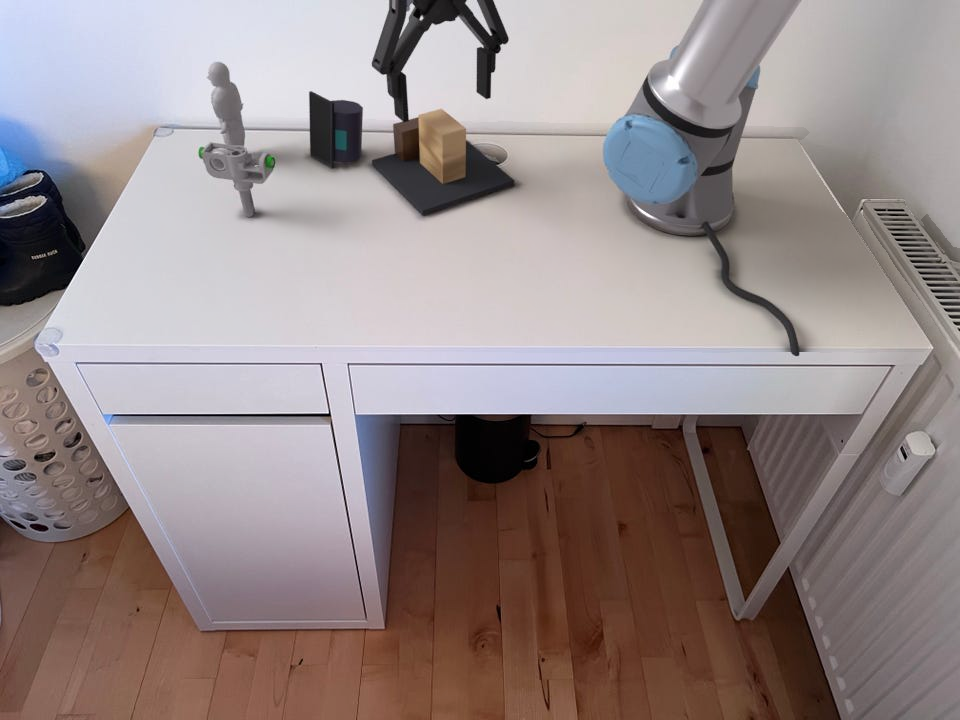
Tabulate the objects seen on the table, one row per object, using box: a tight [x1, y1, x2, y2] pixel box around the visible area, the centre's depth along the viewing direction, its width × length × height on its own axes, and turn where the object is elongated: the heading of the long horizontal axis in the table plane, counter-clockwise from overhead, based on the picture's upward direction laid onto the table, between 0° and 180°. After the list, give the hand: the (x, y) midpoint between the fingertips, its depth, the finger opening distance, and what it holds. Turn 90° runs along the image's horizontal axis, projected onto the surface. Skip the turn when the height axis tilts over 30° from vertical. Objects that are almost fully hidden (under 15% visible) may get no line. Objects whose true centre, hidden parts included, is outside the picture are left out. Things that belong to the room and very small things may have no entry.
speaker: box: [308, 90, 364, 170], centre depth 114 cm, size 8×6×10 cm
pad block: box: [417, 108, 467, 184], centre depth 111 cm, size 7×4×8 cm, turn 33°
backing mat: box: [371, 139, 515, 217], centre depth 115 cm, size 16×16×1 cm
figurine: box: [206, 61, 246, 147], centre depth 112 cm, size 9×4×15 cm, turn 174°
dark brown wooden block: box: [392, 116, 420, 162], centre depth 116 cm, size 4×8×5 cm, turn 123°
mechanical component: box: [198, 141, 277, 218], centre depth 103 cm, size 3×10×10 cm, turn 78°
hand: (443, 106), depth 107 cm, fingers open, 13 cm apart
